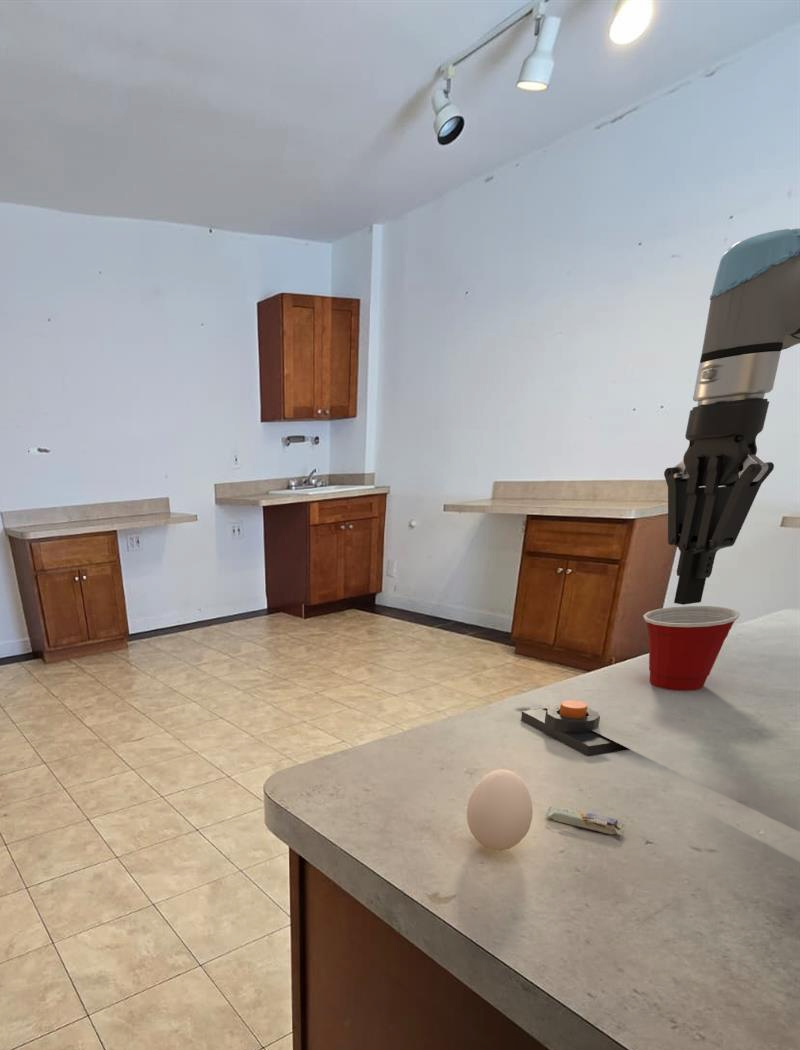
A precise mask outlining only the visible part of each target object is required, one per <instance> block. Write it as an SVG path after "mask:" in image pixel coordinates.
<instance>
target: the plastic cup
mask: <svg viewBox="0 0 800 1050" xmlns="http://www.w3.org/2000/svg"><path fill="white" fill-rule="evenodd" d="M740 616H741V613H740V612H739V611H738V610H736V609H733V608H729V607H722V606H712V605H683V606H682V605H681V606H670V607H663V608H657V609H654V610H650V611H646V613H644V614H643V615H642V617H643V619H644V621H645V622H646V623H645V624H646V628H647V634H648V670H649V683H650V684H651V686H654V687H656V688H659V689H662V690H663V689H664V690H671V691H676V692H677V691H682V692H688V691H689V692H690V691H691V692H692V691H697V690H701V689H702V688H703V687H704V685H705V683H706V680H707V678H708V677H709V676H710V674H711V672H712V669H713V668H714V665H715V662H716V661H717V659H718V656H719V654H720V651H721V649H722V648H723V645H724V643H725V640H726V638H727V637H728V636H729V633H730V630H732V627H733V625H734V623H735V622H736V621H737V620H738V619H739V617H740Z"/></svg>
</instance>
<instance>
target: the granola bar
mask: <svg viewBox="0 0 800 1050" xmlns="http://www.w3.org/2000/svg"><path fill="white" fill-rule="evenodd" d="M545 817H547V818H550V819H552V820H553V821H556V822H559V823H562V824H566V825H570V826H575V827H578V828H582V829H587V830H591V831H596V832H599V833H604V834H608V835H611V836H612V835H613V834H614V835H617V836H618V835H619V836H622V835H623V831H624V828H626V823H622V822H620V821H619V820H618V819H617V818H612V817H609V816H604V815H600V814H596V813H592V812H588V811H582V810H578V809H574V808H570V807H565V806H560V805H559V806H552V805H551V806H549V807H548V810H547V812H546V814H545Z"/></svg>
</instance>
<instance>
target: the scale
mask: <svg viewBox="0 0 800 1050" xmlns="http://www.w3.org/2000/svg"><path fill="white" fill-rule="evenodd" d="M560 706H561V705H555V706H551V707H549V708H546V707H544V708H537V709H530V710H522V711H521V716H520V717H521V718H520V721H521V722H523V723H525V724H527V725H528V726H531V727H532V728H534V729H536V730H537V731H540V732H542V733H543V734H545V735H547V736H549V737H550V738H552V739H554V740H556V741H558V742H560V743H561V744H564V745H565V746H567V747H569V748H570V749H572V750H574V751H577V752H578V753H580V754H582V755H584V756H586V757H593V756H599V755H606V754H612V753H617V752H619V753H620V752H624V751H631V750H632V749H631V748H629V747H627V746H624V745H623V744H620V743H619V742H616V741H614V740H612V739H611V738H608V737H606V736H604V735H603V734H600V733H598V732H596V731H595V730H596V729H597V728H598V727H599V724H600V720H601V715H600V713H599V712H598V711H596V710H594V709H592V708H589V707H587V713H586V717H585V718H568V717H563V716H561V715H559V712H560Z"/></svg>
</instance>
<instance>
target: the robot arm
mask: <svg viewBox="0 0 800 1050" xmlns="http://www.w3.org/2000/svg"><path fill="white" fill-rule="evenodd" d="M711 292H712V293H711V294H710V296H709V301H710V303H709V309H708V312H707V320H706V325H705V331H704V338H703V344H702V349H701V355H700V359H699V363H698V370H697V374H696V380H695V385H694V391H693V395H692V400H693V401H694V402H697V404H696V405H697V406H693V407H692V409H691V410H689V415H688V420H687V425H686V430H685V436H684V437H685V439H686V440H687V441H689V444H688V447H687V449H686V450H685V453H684V454H683V458H682V459H683V460H682V461H680V462H679V463H678V464H676V465H675V466H673V467H671V466H670V467H666V469H665V470H664V472H663V476H664V479H665V483H666V486H667V543H668V545H669V546H675V547H677V548H678V550H679V557H678V563H677V568H676V576H677V577H678V580H677V585H676V591H675V596H674V600H673V601H674V602H673V604H676V605H681V606H682V605H683V606H686V605H691V604H697V603H702V599H703V595H704V590H705V585H706V581H707V578H708V579H709V578H710V577H711V575H712V572H713V568H714V563H715V558H716V555H717V553H718V551H720V550H722V549H725V548H729V547H733V546H734V545H735V543H736V541H737V539H738V536H739V534H740V532H741V530H742V527H743V525H744V523H745V521H746V519H747V516H748V514H749V512H750V510H751V509H752V506H753V504H754V501H755V499H756V497H757V494H758V492H759V490H760V488H761V486H762V484H763V483H764V481H766V479H767V478H768V477H769V476H770V474H771V473H772V472H773V471H774V468H775V464H774V463H773V462H771V461H768V462H764V461H763V460H761V459H760V457H758V456H757V453H758V447H757V442H756V441H757V440H756V439H757V437H758V435H759V434H760V433H762V431H763V430H764V426H765V422H766V418H767V414H768V410H769V407H770V401H768V400H769V399H768V398H765V396H766V394H769V393H770V392H772V391H773V389H774V385H775V380H776V376H777V371H778V367H779V362H780V359H781V351H784V350H787V349H790V348H791V347H794V346H796V345H798V344H800V228H792V229H790V228H784V229H783V228H782V229H778V230H772V231H768V232H763V233H760V234H756V235H753V236H750V237H748V238H745V239H742V240H740V241H738V242H736V243H734V244H733V245H731V246H730V247H728V249H726V251H725V252H724V253H723V254H722V256H721V258H720V262H719V264H718V268H717V271H716V275H715V278H714V282H713V287H712V291H711Z"/></svg>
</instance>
